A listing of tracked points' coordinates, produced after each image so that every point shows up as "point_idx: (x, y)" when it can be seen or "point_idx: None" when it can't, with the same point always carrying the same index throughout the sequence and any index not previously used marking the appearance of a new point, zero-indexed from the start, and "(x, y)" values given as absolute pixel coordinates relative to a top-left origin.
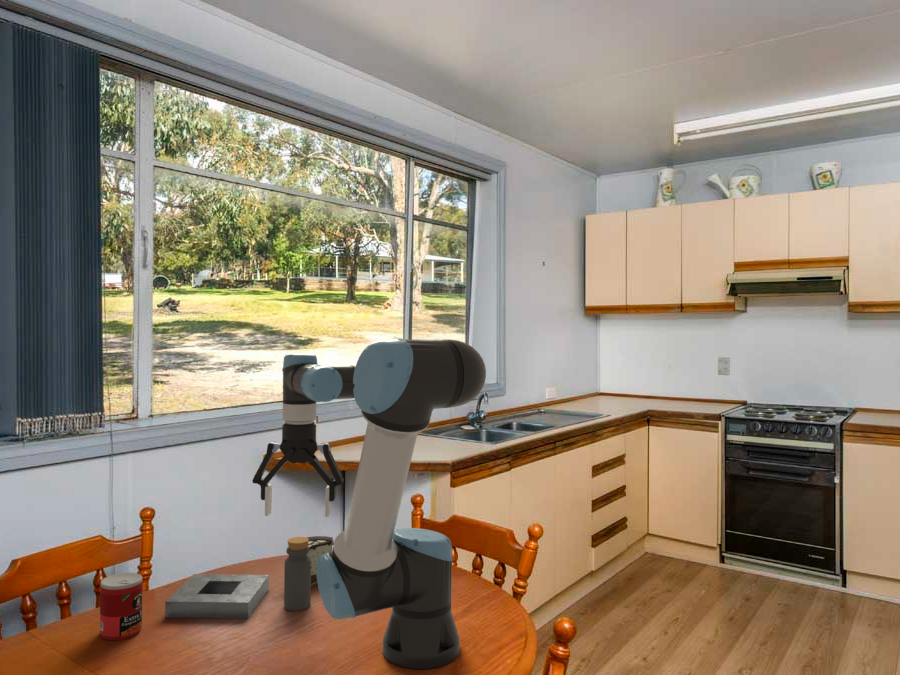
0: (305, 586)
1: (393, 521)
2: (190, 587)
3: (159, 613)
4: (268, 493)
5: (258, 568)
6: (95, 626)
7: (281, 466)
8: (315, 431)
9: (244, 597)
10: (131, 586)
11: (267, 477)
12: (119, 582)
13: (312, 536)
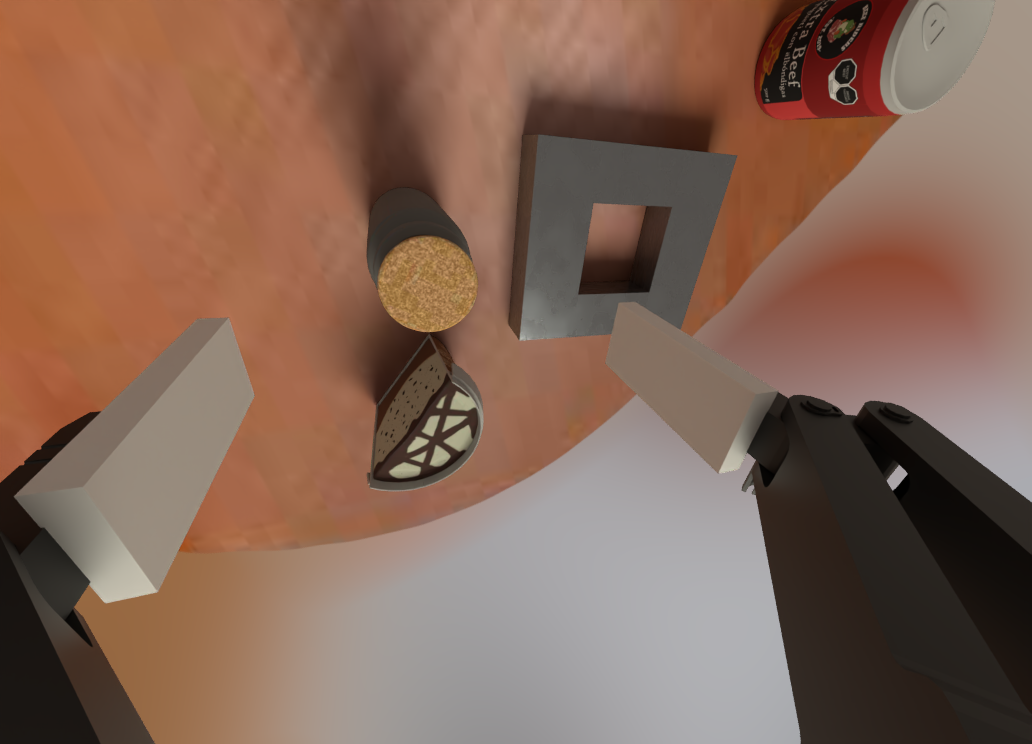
0: (376, 210)
1: None
2: (686, 249)
3: None
4: (711, 368)
5: (551, 425)
6: None
7: (884, 634)
8: None
9: (555, 178)
10: None
11: (849, 456)
12: (948, 20)
13: (437, 481)
